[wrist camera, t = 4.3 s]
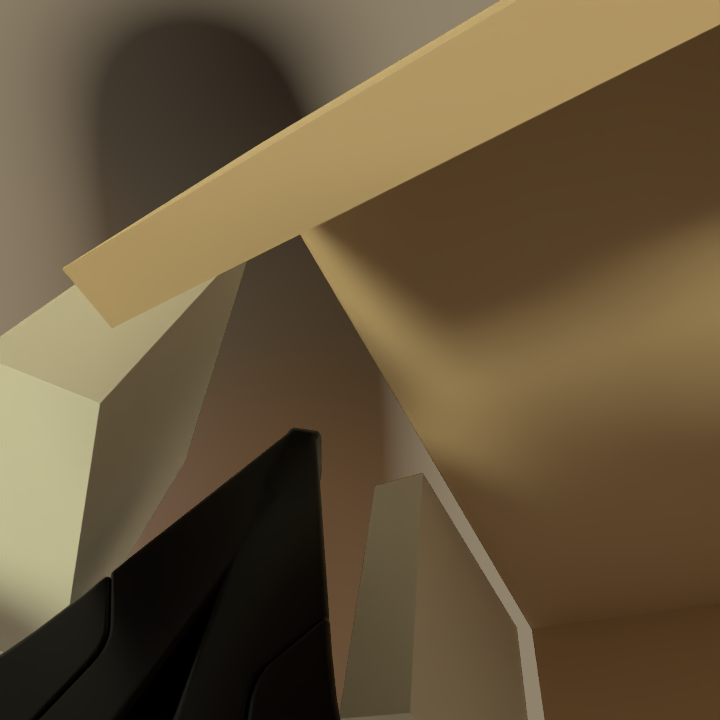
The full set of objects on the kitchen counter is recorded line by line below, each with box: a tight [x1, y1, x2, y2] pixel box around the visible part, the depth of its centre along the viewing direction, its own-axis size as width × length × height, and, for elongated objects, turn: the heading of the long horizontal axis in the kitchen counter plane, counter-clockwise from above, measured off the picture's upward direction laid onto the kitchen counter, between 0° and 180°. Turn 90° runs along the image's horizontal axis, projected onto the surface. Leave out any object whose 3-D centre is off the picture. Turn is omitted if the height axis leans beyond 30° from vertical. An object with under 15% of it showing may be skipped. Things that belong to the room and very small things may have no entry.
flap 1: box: [0, 261, 247, 652], centre depth 7 cm, size 5×1×4 cm, turn 157°
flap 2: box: [339, 473, 528, 720], centre depth 9 cm, size 5×1×4 cm, turn 28°
